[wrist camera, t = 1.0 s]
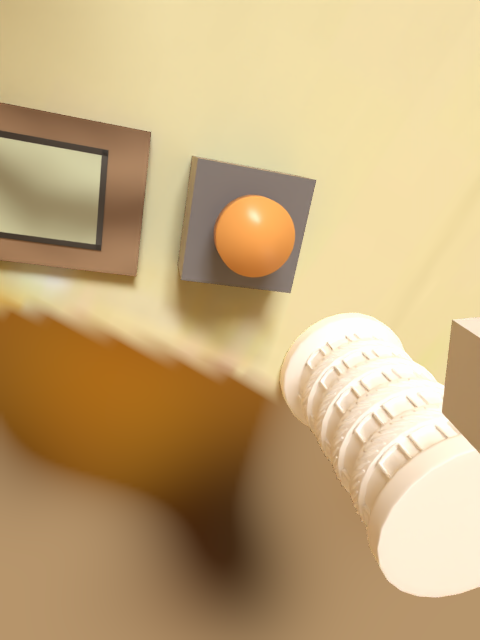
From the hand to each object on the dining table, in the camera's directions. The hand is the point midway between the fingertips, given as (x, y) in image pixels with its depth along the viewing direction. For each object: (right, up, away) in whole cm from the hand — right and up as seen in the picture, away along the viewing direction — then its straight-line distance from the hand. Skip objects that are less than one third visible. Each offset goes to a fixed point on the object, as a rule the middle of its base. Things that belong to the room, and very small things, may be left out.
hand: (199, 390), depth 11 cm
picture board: (-14, +11, +19) cm, 26 cm away
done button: (+2, +7, +18) cm, 19 cm away
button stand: (+1, +9, +23) cm, 24 cm away
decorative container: (+10, -3, +30) cm, 32 cm away
